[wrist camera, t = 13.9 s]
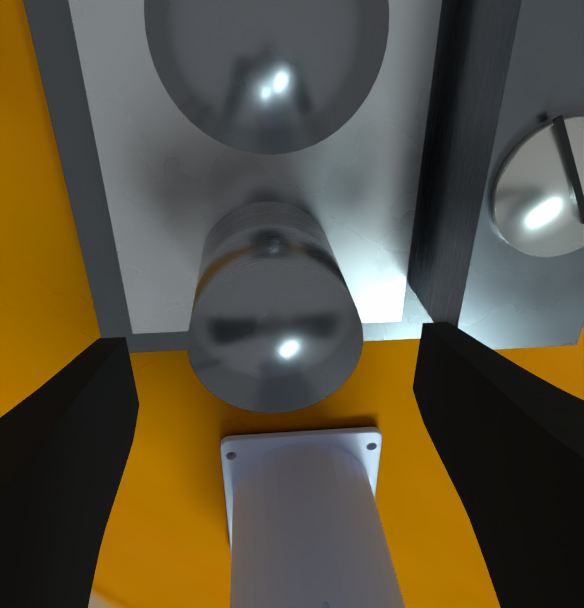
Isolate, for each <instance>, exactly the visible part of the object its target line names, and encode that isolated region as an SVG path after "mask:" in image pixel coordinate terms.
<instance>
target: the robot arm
mask: <svg viewBox="0 0 584 608" xmlns="http://www.w3.org/2000/svg"><path fill="white" fill-rule="evenodd" d="M413 391H414V394H415V398H416V401H417V404H418V407H419V410H420V413H421V416H422V419H423V422H424V425H425V427H426V429H427V431H428V433H429V435H430V437H431V439H432V441H433V444H434V446H435V448H436V450H437V452H438V454H439V456H440V458H441V460H442V462H443V464H444V466H445V468H446V470H447V472H448V474H449V476H450V478H451V480H452V482H453V484H454V486H455V488H456V490H457V493H458V495H459V497H460V499H461V501H462V503H463V505H464V508H465V510H466V512H467V514H468V517H469V519H470V522H471V524H472V527H473V530H474V532H475V535H476V538H477V541H478V543H479V546H480V549H481V552H482V554H483V557H484V560H485V563H486V566H487V569H488V571H489V574H490V577H491V580H492V583H493V586H494V589H495V592H496V595H497V598H498V601H499V604H500V607H501V608H584V400H582V399H580V398H577V397H575V396H573V395H571V394H569V393H567V392H565V391H563V390H561V389H559V388H557V387H555V386H554V385H552V384H550V383H548V382H546V381H545V380H543V379H541V378H539V377H537V376H535V375H534V374H532V373H530V372H528V371H527V370H525V369H523V368H522V367H520V366H518V365H517V364H515V363H513V362H512V361H510V360H508V359H507V358H505V357H503V356H502V355H500V354H499V353H497V352H495V351H494V350H492V349H491V348H489V347H488V346H486V345H484V344H483V343H481V342H480V341H478V340H477V339H475V338H473V337H472V336H470V335H469V334H467V333H465V332H464V331H462V330H461V329H459V328H457V327H455V326H454V325H452V324H450V323H448V322H433V323H423V324H422V331H421V337H420V344H419V351H418V357H417V364H416V370H415V377H414V383H413ZM138 409H139V401H138V396H137V391H136V386H135V381H134V376H133V371H132V366H131V361H130V356H129V351H128V346H127V341H126V337H114V338H99V339H98V340H96V341H95V342H94V343H92V344H91V345H90V346H89V347H88V348H86V349H85V350H84V351H83V352H82V353H80V354H79V355H78V356H77V357H76V358H75V359H74V360H72V361H71V362H70V363H69V364H68V365H67V366H65V367H64V368H63V369H62V370H61V371H59V372H58V373H57V374H56V375H55V376H53V377H52V378H51V379H50V380H49V381H47V382H46V383H45V384H44V385H43V386H41V387H40V388H39V389H38V390H36V391H35V392H34V393H32V394H31V395H30V396H28V397H27V398H26V399H24V400H23V401H22V402H21V403H19V404H18V405H17V406H15V407H14V408H13V409H11V410H10V411H9V412H7V413H6V414H5V415H3V416H2V417H1V418H0V608H88V604H89V598H90V593H91V588H92V583H93V579H94V574H95V569H96V564H97V560H98V555H99V550H100V546H101V542H102V539H103V535H104V531H105V528H106V525H107V522H108V518H109V515H110V512H111V509H112V506H113V503H114V500H115V497H116V494H117V490H118V487H119V484H120V481H121V478H122V475H123V472H124V469H125V465H126V462H127V459H128V456H129V453H130V449H131V446H132V443H133V438H134V433H135V427H136V421H137V415H138ZM369 443H373V444H370V445H368V444H369ZM381 443H382V435H381V432H380V430H379V429H378V428H376V427H360V428H344V429H329V430H313V431H297V432H281V433H266V434H250V435H234V436H227V437H225V438H223V439H222V440H221V445H220V450H221V460H222V470H223V480H224V490H225V499H226V509H227V519H228V529H229V539H230V548H231V594H230V608H405V605H404V601H403V598H402V594H401V591H400V587H399V584H398V580H397V577H396V573H395V570H394V566H393V562H392V559H391V555H390V552H389V548H388V545H387V541H386V538H385V534H384V531H383V527H382V523H381V520H380V516H379V513H378V509H377V506H376V502H375V492H376V483H377V475H378V467H379V459H380V451H381ZM229 452H234V453H233V454H230V453H229Z"/></svg>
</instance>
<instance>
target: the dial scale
mask: <svg viewBox="0 0 584 608" xmlns="http://www.w3.org/2000/svg"><path fill="white" fill-rule="evenodd" d="M23 1H24V5H25V10H26V14H27V18H28V22H29V27H30V31H31V35H32V40H33V44H34V48H35V53H36V57H37V61H38V66H39V70H40V74H41V78H42V83H43V87H44V91H45V96H46V100H47V104H48V109H49V113H50V117H51V122H52V126H53V130H54V135H55V139H56V143H57V147H58V152H59V156H60V160H61V165H62V169H63V173H64V178H65V182H66V186H67V191H68V195H69V199H70V203H71V208H72V212H73V216H74V221H75V225H76V229H77V234H78V238H79V242H80V247H81V251H82V255H83V260H84V264H85V268H86V272H87V277H88V281H89V285H90V290H91V294H92V298H93V303H94V307H95V311H96V316H97V320H98V324H99V328H100V333H101V337H102V338H114V337H126V341H127V346H128V351H129V353H133V352H153V351H173V350H188V349H187V337H188V330H189V324H190V318H191V313H192V307H193V302H194V296H195V291H196V285H197V280H198V274H199V268H200V263H201V257H202V252H203V248H204V244H205V242H206V239H207V237H208V235H209V233H210V231H211V230H212V228H213V227H214V226H215V225H216V223H217V222H218V221H219V220H220V219H221V218H222V217H224V216H225V215H226V214H228V213H229V212H231V211H232V210H234V209H236V208H238V207H241V206H243V205H246V204H249V203H253V202H260V201H276V202H282V203H286V204H290V205H292V206H295V207H297V208H299V209H301V210H303V211H304V212H306V213H307V214H309V215H310V216H311V217H313V218H314V219H315V220H316V222H317V223H318V224H319V225H320V226H321V228H322V229H323V230H324V232H325V234H326V236H327V238H328V240H329V243H330V245H331V248H332V250H333V253H334V255H335V257H336V260H337V262H338V265H339V267H340V269H341V272H342V274H343V277H344V279H345V281H346V284H347V286H348V289H349V291H350V294H351V296H352V298H353V301H354V303H355V306H356V308H357V310H358V313H359V316H360V319H361V322H362V328H363V341H374V340H394V339H414V338H420V337H421V331H422V324H423V323H433V322H448V323H450V324H452V325H454V326H455V327H457V328H459V329H461V330H462V331H464V332H465V333H467V334H469V335H470V336H472V337H473V338H475V339H477V340H478V341H480V342H481V343H483V344H484V345H486V346H488V347H489V348H491V349H507V348H527V347H546V346H565V345H577V342H578V339H579V336H580V334H581V331H582V328H583V325H584V0H388V2H389V32H388V39H387V46H386V51H385V55H384V58H383V62H382V66H381V68H380V71H379V74H378V76H377V79H376V81H375V83H374V85H373V87H372V89H371V91H370V93H369V95H368V96H367V98H366V99H365V101H364V102H363V104H362V105H361V107H360V108H359V109H358V110H357V112H356V113H355V114H354V115H353V116H352V117H351V119H350V120H349V121H348V122H347V123H345V124H344V125H343V126H342V127H341V128H340V129H339V130H338V131H336V132H335V133H333V134H332V135H330V136H329V137H328V138H326V139H324V140H323V141H321V142H319V143H317V144H315V145H313V146H310V147H307V148H305V149H302V150H299V151H295V152H290V153H285V154H273V155H269V154H255V153H250V152H244V151H241V150H238V149H235V148H232V147H229V146H227V145H225V144H223V143H220V142H218V141H216V140H215V139H213V138H211V137H210V136H208V135H207V134H205V133H204V132H202V131H201V130H200V129H199V128H198V127H196V126H195V125H194V124H193V123H192V122H190V121H189V119H188V118H187V117H186V116H185V115H184V114H183V113H182V112H181V111H180V110H179V109H178V107H177V106H176V104H175V103H174V102H173V100H172V99H171V98H170V96H169V95H168V93H167V91H166V89H165V88H164V86H163V84H162V82H161V80H160V78H159V76H158V74H157V71H156V69H155V67H154V64H153V61H152V57H151V54H150V51H149V47H148V42H147V37H146V31H145V20H144V0H23Z"/></svg>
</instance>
